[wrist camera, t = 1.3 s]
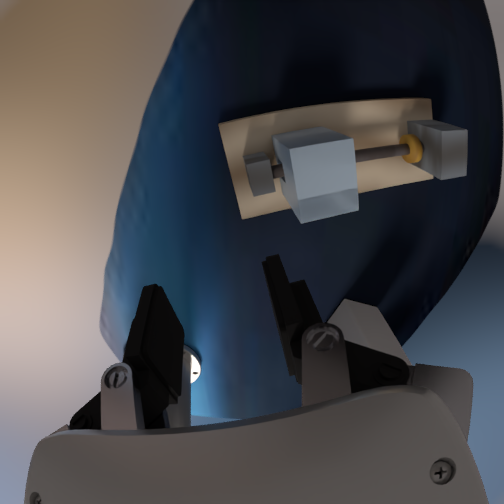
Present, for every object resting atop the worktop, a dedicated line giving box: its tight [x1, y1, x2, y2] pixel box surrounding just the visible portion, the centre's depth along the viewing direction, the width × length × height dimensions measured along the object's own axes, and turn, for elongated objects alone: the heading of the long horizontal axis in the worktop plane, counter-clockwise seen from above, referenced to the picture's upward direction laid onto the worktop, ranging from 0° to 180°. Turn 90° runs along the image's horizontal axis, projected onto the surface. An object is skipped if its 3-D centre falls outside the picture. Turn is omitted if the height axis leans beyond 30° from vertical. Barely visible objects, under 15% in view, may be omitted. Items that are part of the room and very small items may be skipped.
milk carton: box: [327, 299, 411, 365], centre depth 34 cm, size 7×7×19 cm
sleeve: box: [271, 126, 359, 223], centre depth 24 cm, size 6×5×7 cm
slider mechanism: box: [218, 98, 467, 219], centre depth 25 cm, size 10×24×8 cm, turn 102°
